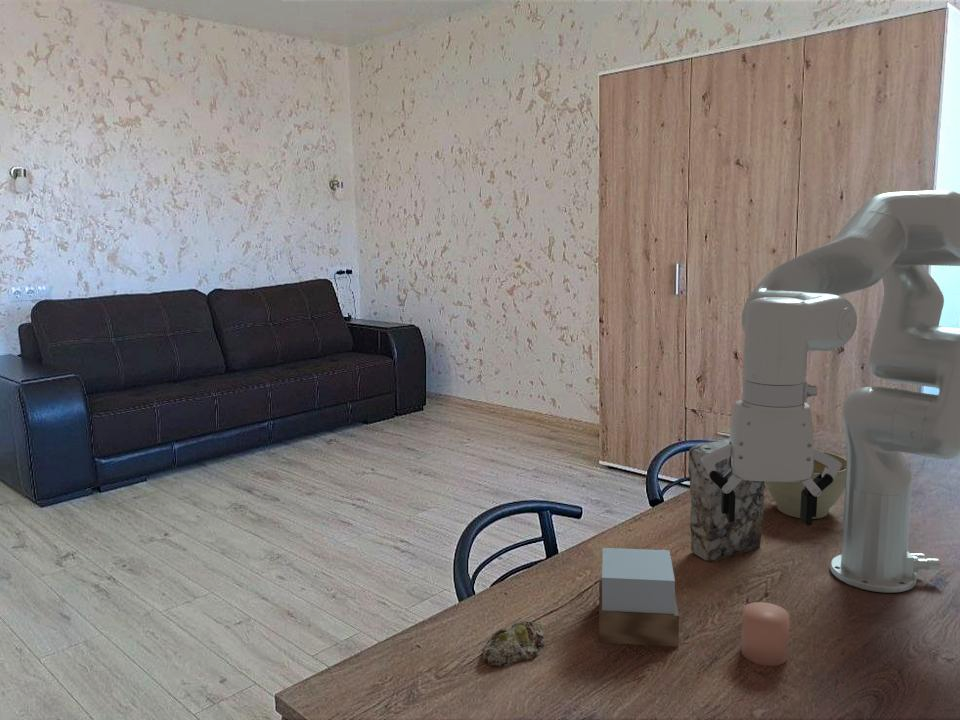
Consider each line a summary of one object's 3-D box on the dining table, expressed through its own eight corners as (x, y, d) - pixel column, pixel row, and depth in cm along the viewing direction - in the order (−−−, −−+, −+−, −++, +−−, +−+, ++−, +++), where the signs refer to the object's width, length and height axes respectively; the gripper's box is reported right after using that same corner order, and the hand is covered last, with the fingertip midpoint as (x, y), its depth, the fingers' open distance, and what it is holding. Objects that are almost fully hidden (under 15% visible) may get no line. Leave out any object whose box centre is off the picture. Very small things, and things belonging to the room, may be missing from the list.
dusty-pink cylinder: (782, 642, 106) (783, 603, 105) (792, 667, 101) (794, 625, 100) (737, 640, 107) (739, 601, 106) (745, 664, 102) (746, 623, 100)
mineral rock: (512, 610, 114) (552, 614, 108) (519, 638, 114) (559, 643, 108) (461, 642, 106) (501, 648, 100) (469, 672, 106) (510, 680, 100)
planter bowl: (812, 533, 142) (815, 478, 140) (743, 507, 155) (744, 456, 153) (864, 514, 150) (868, 462, 148) (794, 491, 163) (796, 442, 161)
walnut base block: (671, 609, 117) (671, 579, 116) (678, 648, 106) (678, 615, 105) (599, 605, 119) (599, 576, 118) (599, 644, 108) (599, 612, 107)
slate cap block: (669, 581, 116) (669, 550, 115) (674, 614, 106) (675, 580, 105) (602, 578, 117) (602, 547, 116) (602, 610, 108) (602, 577, 107)
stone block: (714, 567, 130) (717, 455, 126) (684, 552, 136) (686, 445, 132) (767, 548, 136) (770, 441, 133) (736, 535, 142) (739, 432, 139)
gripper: (835, 388, 100) (828, 512, 102) (700, 387, 102) (696, 507, 105) (854, 401, 92) (845, 534, 95) (707, 399, 95) (703, 528, 98)
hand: (767, 520), depth 100 cm, fingers open, 9 cm apart
